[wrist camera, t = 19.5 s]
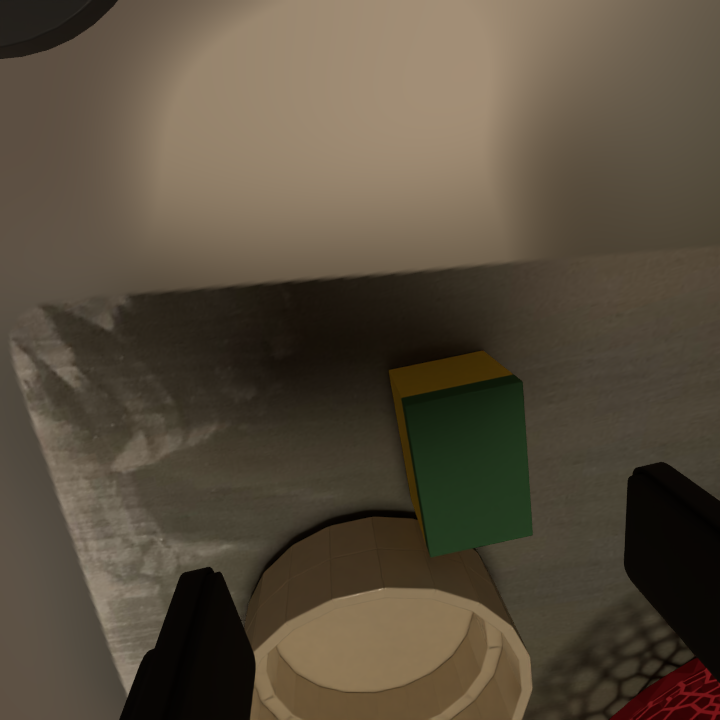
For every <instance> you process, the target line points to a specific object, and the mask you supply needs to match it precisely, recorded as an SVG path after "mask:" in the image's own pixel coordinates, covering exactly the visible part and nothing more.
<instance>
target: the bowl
mask: <svg viewBox="0 0 720 720" xmlns="http://www.w3.org/2000/svg"><path fill="white" fill-rule="evenodd" d="M609 720H720V683H719V682H718V681H717V680H716V679H715V678H714V676H713V675H712V674H711V673H710V672H709V671H708V669H707V668H706V667H705V666H704V665H703V664H702V663H701V661H700V660H699V659H698V658H695V659H693V660H692V661H690V662H688V663H686V664H685V665H683V666H681V667H680V668H678V669H676V670H674V671H673V672H671V673H669V674H668V675H666V676H665V677H663V678H662V679H660V680H658V681H657V682H655V683H654V684H652V685H650V686H649V687H647V688H646V689H644V690H643V691H642V692H640V693H639V694H638V695H637V696H636V697H634V698H633V699H632V700H631V701H630V702H629V703H627V704H626V705H625V706H624V707H623V708H622V709H621V710H619V711H618V712H617V713H616V714H615V715H614V716H612V717H611V718H610V719H609Z"/></svg>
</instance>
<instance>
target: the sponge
mask: <svg viewBox="0 0 720 720" xmlns="http://www.w3.org/2000/svg"><path fill="white" fill-rule="evenodd" d="M389 377H390V382H391V388H392V394H393V399H394V405H395V411H396V416H397V422H398V428H399V433H400V439H401V445H402V450H403V456H404V462H405V467H406V473H407V479H408V484H409V490H410V496H411V500H412V503H413V506H414V509H415V512H416V515H417V518H418V522H419V525H420V528H421V531H422V534H423V537H424V540H425V543H426V546H427V549H428V552H429V555H430V557H436V556H440V555H445V554H449V553H454V552H458V551H463V550H468V549H472V548H477V547H481V546H486V545H490V544H495V543H499V542H504V541H509V540H513V539H518V538H522V537H527V536H531V535H533V531H532V516H531V501H530V486H529V471H528V456H527V441H526V426H525V411H524V396H523V382H522V381H521V380H520V379H519V378H517V377H516V376H515V375H513V374H512V373H511V372H510V371H508V370H507V369H506V368H505V367H503V366H502V365H501V364H499V363H498V362H497V361H496V360H494V359H493V358H492V357H491V356H489V355H488V354H487V353H486V352H484V351H478V352H473V353H469V354H464V355H459V356H454V357H449V358H445V359H440V360H435V361H430V362H425V363H421V364H416V365H411V366H406V367H401V368H397V369H392V370H389Z"/></svg>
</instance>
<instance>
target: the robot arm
mask: <svg viewBox="0 0 720 720" xmlns="http://www.w3.org/2000/svg"><path fill="white" fill-rule="evenodd" d="M624 567H625V570H626V573H627V575H628V577H629V578H630V580H631V581H632V582H633V584H634V585H635V586H636V587H637V588H638V589H639V591H640V592H641V593H642V594H643V595H644V596H645V598H646V599H647V600H648V601H649V602H650V603H651V604H652V606H653V607H654V608H655V609H656V610H657V611H658V613H659V614H660V615H661V616H662V617H663V618H664V620H665V621H666V622H667V623H668V624H669V625H670V627H671V628H672V629H673V630H674V631H675V632H676V634H677V635H678V636H679V637H680V638H681V639H682V640H683V642H684V643H685V644H686V645H687V646H688V647H689V649H690V650H691V651H692V652H693V653H694V654H695V656H696V657H697V658H698V659H699V660H700V661H701V663H702V664H703V665H704V666H705V667H706V668H707V669H708V671H709V672H710V673H711V674H712V675H713V676H714V678H715V679H716V680H717V681H718V682H719V683H720V501H719V500H718V499H716V498H715V497H713V496H712V495H711V494H709V493H708V492H706V491H705V490H704V489H702V488H701V487H699V486H698V485H697V484H695V483H694V482H692V481H691V480H690V479H688V478H687V477H685V476H684V475H683V474H681V473H680V472H678V471H677V470H676V469H674V468H673V467H671V466H670V465H668V464H666V463H664V462H659V463H654V464H650V465H646V466H642V467H638V468H635V469H634V471H633V475H632V476H630V477H629V478H628V487H627V508H626V529H625V551H624ZM255 673H256V662H255V655H254V652H253V649H252V647H251V645H250V642H249V640H248V637H247V635H246V632H245V630H244V627H243V625H242V622H241V620H240V617H239V615H238V612H237V610H236V607H235V605H234V602H233V600H232V597H231V595H230V592H229V590H228V587H227V585H226V582H225V580H224V577H223V575H222V573H221V572H216V573H214V571H213V569H212V568H211V567H206V568H202V569H197V570H193V571H189V572H185V573H183V574H182V575H181V576H180V578H179V581H178V583H177V586H176V589H175V592H174V595H173V598H172V600H171V603H170V606H169V609H168V612H167V615H166V617H165V620H164V623H163V626H162V629H161V631H160V634H159V637H158V640H157V643H156V646H155V648H154V649H152V650H149V651H148V652H147V653H146V655H145V656H144V657H143V659H142V661H141V664H140V666H139V668H138V671H137V674H136V676H135V679H134V682H133V684H132V687H131V690H130V692H129V695H128V698H127V700H126V703H125V706H124V708H123V711H122V714H121V716H120V719H119V720H250V716H251V707H252V699H253V690H254V682H255Z"/></svg>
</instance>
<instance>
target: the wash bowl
mask: <svg viewBox="0 0 720 720" xmlns="http://www.w3.org/2000/svg"><path fill="white" fill-rule="evenodd" d="M244 630H245V632H246V635H247V637H248V640H249V642H250V645H251V647H252V649H253V652H254V655H255V662H256V673H255V682H254V690H253V699H252V707H251V716H250V720H522V718H523V716H524V713H525V710H526V707H527V704H528V701H529V698H530V695H531V693H532V676H531V663H530V655H529V653H528V651H527V649H526V647H525V645H524V643H523V641H522V639H521V636H520V634H519V632H518V630H517V628H516V626H515V624H514V622H513V620H512V618H511V616H510V614H509V612H508V610H507V608H506V605H505V603H504V601H503V599H502V597H501V595H500V593H499V591H498V589H497V587H496V585H495V583H494V581H493V579H492V577H491V575H490V573H489V572H488V570H487V568H486V566H485V565H484V563H483V561H482V560H481V558H480V556H479V554H478V553H477V552H476V551H475V550H474V549H468V550H463V551H458V552H454V553H449V554H445V555H440V556H436V557H430V555H429V552H428V549H427V546H426V543H425V540H424V537H423V534H422V531H421V528H420V525H419V522H418V520H416V519H413V518H392V517H368V518H364V519H359V520H354V521H350V522H345V523H340V524H336V525H331V526H328V527H326V528H324V529H322V530H320V531H318V532H316V533H315V534H313V535H311V536H309V537H307V538H305V539H303V540H301V541H299V542H297V543H295V544H293V545H292V546H291V547H290V548H289V549H288V550H287V551H286V552H285V553H284V554H283V555H282V556H281V557H280V558H279V559H277V560H276V561H275V562H274V563H273V564H272V565H271V566H270V567H269V568H268V569H267V570H266V571H265V572H264V573H263V575H262V577H261V579H260V581H259V583H258V585H257V587H256V589H255V591H254V593H253V595H252V597H251V599H250V601H249V604H248V610H247V615H246V620H245V626H244Z"/></svg>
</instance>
